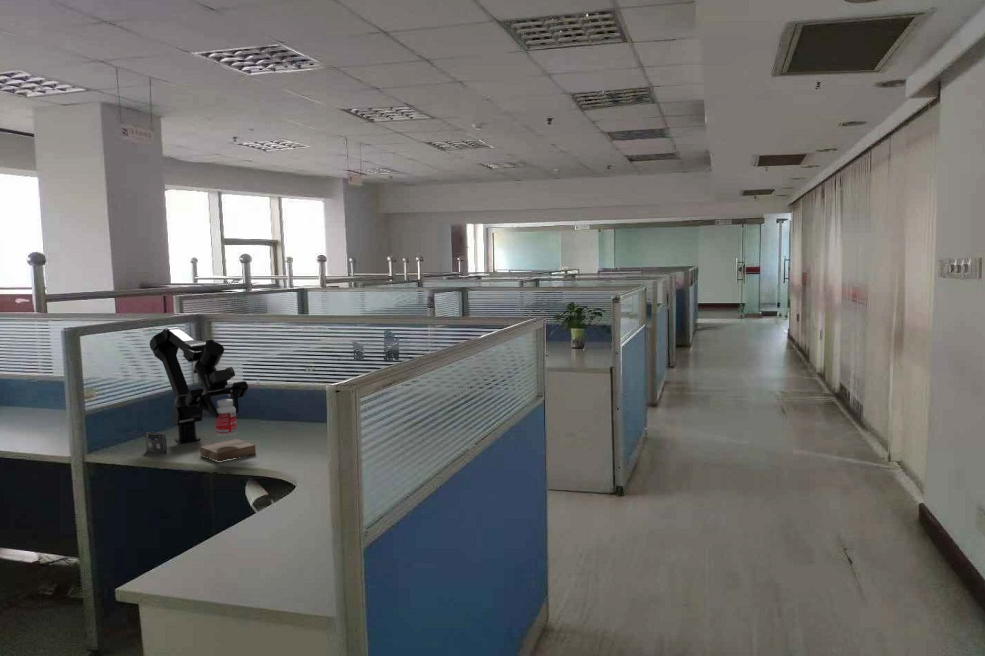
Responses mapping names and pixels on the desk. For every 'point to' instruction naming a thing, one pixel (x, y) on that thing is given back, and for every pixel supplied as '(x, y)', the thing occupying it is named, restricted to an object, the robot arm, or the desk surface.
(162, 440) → the mini dv tape
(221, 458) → the walnut plinth
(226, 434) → the pill bottle
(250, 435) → the desk surface
